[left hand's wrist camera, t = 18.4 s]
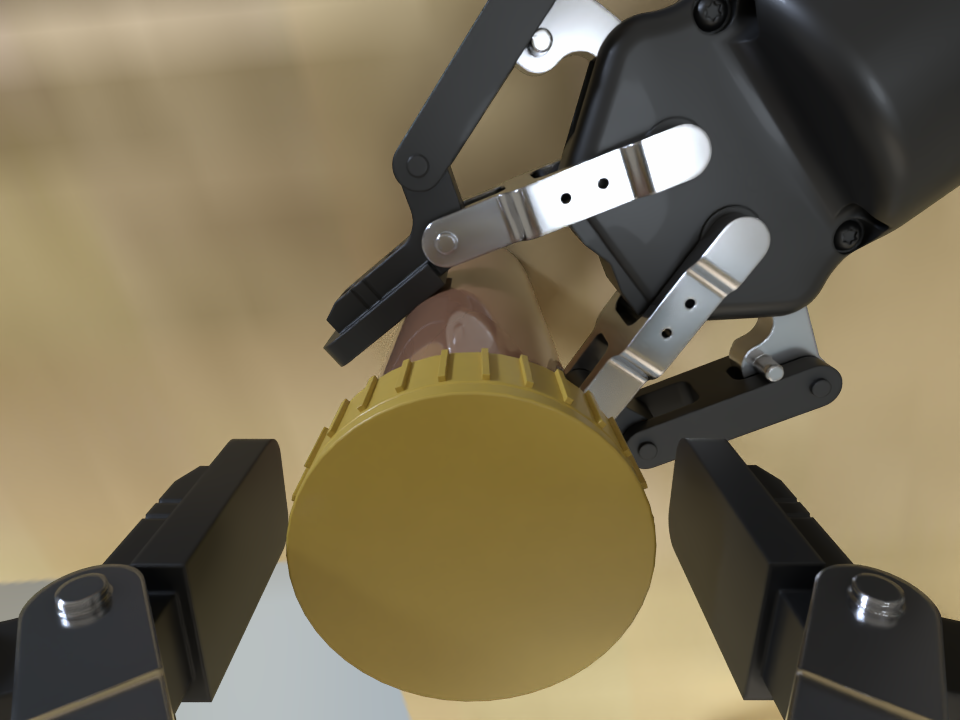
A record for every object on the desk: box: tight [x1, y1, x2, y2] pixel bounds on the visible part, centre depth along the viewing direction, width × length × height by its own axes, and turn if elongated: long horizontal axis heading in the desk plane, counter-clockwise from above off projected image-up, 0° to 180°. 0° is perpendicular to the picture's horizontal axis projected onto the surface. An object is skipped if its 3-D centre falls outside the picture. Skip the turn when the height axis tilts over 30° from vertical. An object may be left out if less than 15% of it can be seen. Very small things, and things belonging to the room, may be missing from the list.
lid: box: [286, 348, 656, 701], centre depth 10 cm, size 6×5×2 cm
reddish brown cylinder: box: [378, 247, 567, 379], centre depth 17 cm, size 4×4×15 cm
